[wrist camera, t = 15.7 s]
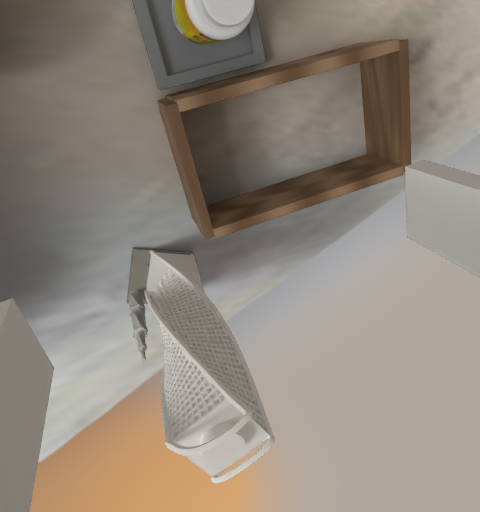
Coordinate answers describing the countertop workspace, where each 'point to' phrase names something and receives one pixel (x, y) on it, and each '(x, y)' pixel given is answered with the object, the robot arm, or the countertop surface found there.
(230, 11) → the supplement bottle
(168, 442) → the skyscraper
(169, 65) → the tray
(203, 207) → the frame
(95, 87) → the countertop surface
